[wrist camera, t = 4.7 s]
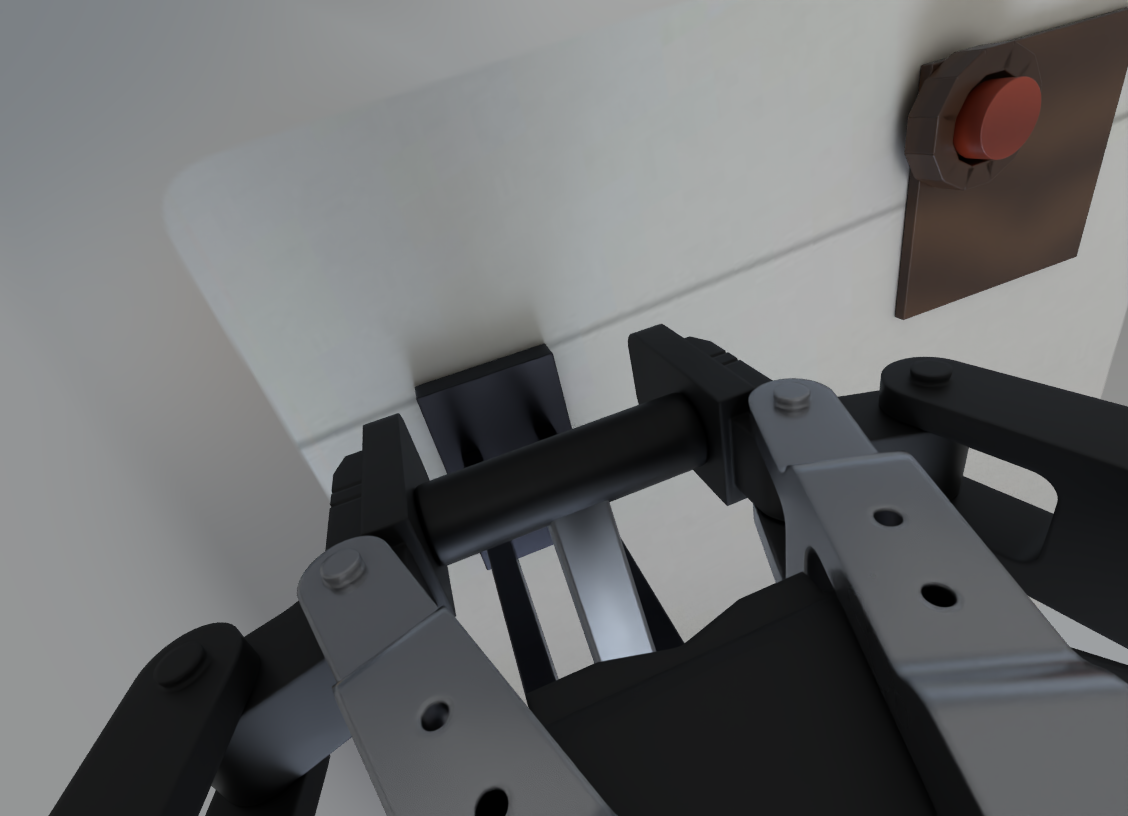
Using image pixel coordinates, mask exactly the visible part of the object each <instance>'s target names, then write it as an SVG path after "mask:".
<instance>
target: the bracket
mask: <svg viewBox="0 0 1128 816" xmlns="http://www.w3.org/2000/svg"><path fill="white" fill-rule="evenodd" d="M415 393H416V400H417V402H418V404H419V407H420V409H421V412H422V414H423V417H424V419H425V421H426V424H427V426H428V429H429V431H430V433H431V436H432V438H433V441H434V443H435V445H436V448H437V450H438V453H439V455H440V458H441V460H442V462H443V465H444V467H445V470H446V472H447V474H450V473H453V472H455V471H458V470H461V469H464V468H466V467H469V466H472V465H475V464H477V463H480V462H483V461H486V460H488V459H491V458H494V457H497V456H499V455H502V454H505V453H508V452H510V451H513V450H516V449H519V448H521V447H524V446H527V445H530V444H532V443H535V442H538V441H541V440H544V439H546V438H549V437H552V436H555V435H557V434H560V433H563V432H566V431H568V430H571V429H572V428H571V424H570V420H569V416H568V412H567V408H566V404H565V400H564V396H563V392H562V388H561V384H560V380H559V376H558V372H557V368H556V364H555V360H554V356H553V353H552V352H551V351H550V349H549V348H548V347H547V346H546V344H542V345H539V346H536V347H533V348H530V349H527V350H524V351H521V352H518V353H515V354H512V355H509V356H506V357H503V358H500V359H497V360H494V361H491V362H488V363H485V364H482V365H479V366H476V367H473V368H470V369H467V370H464V371H461V372H458V373H455V374H452V375H449V376H446V377H443V378H440V379H437V380H434V381H431V382H428V383H425V384H422V385H419V386H416V387H415ZM620 538H621V537H620ZM621 541H622V539H621ZM622 544H623V547H624V551H625V554H626V557H627V560H628V563H629V567H630V570H631V573H632V576H633V579H634V583H635V586H636V589H637V592H638V595H639V599H640V602H641V605H642V608H643V611H644V615H645V618H646V621H647V624H648V627H649V631H650V634H651V637H652V640H653V643H654V647H655V650H656V651H661V650H667V649H672V648H676V647H679V646H681V645H683V644H684V642H683V640H682V638H681V637H680V635H679V633H678V632H677V630H676V628H675V627H674V625H673V623H672V622H671V620H670V619H669V617H668V615H667V614H666V612H665V610H664V609H663V607H662V605H661V604H660V602H659V600H658V599H657V597H656V595H655V594H654V592H653V590H652V589H651V587H650V585H649V584H648V582H647V580H646V579H645V577H644V576H643V574H642V572H641V571H640V569H639V567H638V566H637V564H636V562H635V561H634V559H633V557H632V556H631V554H630V552H629V551H628V549H627V547H626V546H625V544H624V542H623V541H622ZM551 545H553V541H552V538H551V535H550V532H549V529H548V526H547V527H544V528H542V529H539V530H537V531H534V532H531V533H529V534H526V535H524V536H521V537H519V538H516V539H514V540H511V541H508V542H506V543H503V544H501V545H498V546H496V547H493V548H490V549H488V550H485V551H483V552H480V554H481V556H482V559H483V561H484V564H485V566H486V569H487V570H490V569H492V573H493V577H494V580H495V584H496V588H497V592H498V595H499V599H500V603H501V606H502V610H503V614H504V618H505V621H506V625H507V629H508V633H509V636H510V640H511V644H512V648H513V651H514V655H515V659H516V663H517V666H518V670H519V674H520V678H521V681H522V685H523V689H524V692H525V694H527V693H529V692H531V691H534V690H536V689H538V688H540V687H543V686H545V685H547V684H549V683H552V682H554V681H556V680H558V676H557V673H556V670H555V667H554V664H553V661H552V658H551V655H550V652H549V649H548V646H547V643H546V640H545V637H544V634H543V631H542V628H541V625H540V622H539V619H538V616H537V613H536V610H535V607H534V604H533V601H532V598H531V595H530V592H529V589H528V586H527V583H526V580H525V578H524V575H523V572H522V569H521V566H520V563H519V560H518V558H520V557H523V556H525V555H528V554H531V553H533V552H536V551H538V550H541V549H543V548H546V547H548V546H551ZM527 704H528V703H527Z"/></svg>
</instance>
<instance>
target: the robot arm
mask: <svg viewBox="0 0 1128 816" xmlns="http://www.w3.org/2000/svg"><path fill="white" fill-rule="evenodd" d="M628 348H629V354H630V360H631V365H632V371H633V377H634V383H635V389H636V395H637V399H638V403H639V405H640V404H643V403H645V402H648V401H651V400H654V399H656V398H659V397H662V396H665V395H667V394H670V393H681V394H683V395H684V396H686V397H687V398H688V399H689V400H690V402H691V403H692V404H693V406H694V407H695V409H696V410H697V412H698V414H699V416H700V418H701V420H702V423H703V425H704V428H705V431H706V434H707V438H708V443H709V457H708V460H707V462H706V463H705V464H704V465H703V466H701V467H698V468H695V469H693V470H694V471H695V472H696V473H697V475H698V476H699V477H700V478H701V479H702V480H703V481H704V482H705V483H706V484H707V485H708V486H709V487H710V488H711V489H712V490H713V492H714V493H715V494H716V495H717V496H718V497H719V498H720V499H721V500H722V501H723V502H724V503H725V504H726V505H727V506H729V505H731V504H734V503H736V502H738V501H741V500H743V499H746V498H748V499H749V500H750V501H751V502H752V503H753V515H754V522H755V525H756V528H757V531H758V534H759V537H760V539H761V542H762V545H763V548H764V551H765V554H766V556H767V559H768V562H769V565H770V568H771V571H772V573H773V576H774V579H775V582H776V583H775V584H772V585H770V586H768V587H766V588H763V589H761V590H759V591H757V592H754V593H752V594H750V595H748V596H745V597H743V598H741V599H739V600H738V601H736V602H735V603H734V604H733V605H731V606H730V607H729V608H728V609H727V610H725V611H724V612H723V613H722V614H720V615H719V616H718V617H717V618H715V619H714V620H713V621H712V622H711V623H709V624H708V625H707V626H706V627H704V628H703V629H702V630H701V631H699V632H698V633H697V634H696V635H695V636H693V637H692V638H691V639H690V640H688V641H687V642H686V643H684V644H683V645H681V646H679V647H676V648H672V649H667V650H661V651H656V652H650V653H645V654H639V655H634V656H628V657H623V658H617V659H611V660H606V661H600V662H597V663H595V664H592V665H590V666H588V667H586V668H583V669H581V670H579V671H577V672H574V673H572V674H570V675H568V676H565V677H563V678H561V679H558V680H556V681H554V682H552V683H549V684H547V685H545V686H543V687H540V688H538V689H536V690H534V691H531V692H529V693H527V694H525V696H526V700H527V703H528V707H529V708H528V707H527V705H526V704H525V703H524V702H523V700H522V699H521V698H520V697H519V696H518V694H517V693H516V692H515V691H514V689H513V688H512V687H511V686H510V684H509V683H508V682H507V681H506V680H505V678H504V677H503V676H502V675H501V673H500V672H499V671H498V670H497V668H496V667H495V666H494V665H493V664H492V662H491V661H490V660H489V659H488V657H487V656H486V655H485V654H484V652H483V651H482V650H481V649H480V647H479V646H478V645H477V644H476V643H475V641H474V640H473V639H472V638H471V636H470V635H469V634H468V633H467V631H466V630H465V629H464V628H463V627H462V625H461V624H460V623H459V622H458V620H457V619H456V618H455V617H456V613H455V607H454V601H453V596H452V590H451V584H450V579H449V573H448V567H447V566H443V565H440V564H439V563H438V562H437V560H436V559H435V557H434V556H433V554H432V552H431V550H430V548H429V545H428V543H427V540H426V538H425V535H424V532H423V529H422V526H421V523H420V520H419V517H418V513H417V509H416V504H415V488H416V487H417V486H418V485H420V484H422V483H425V482H428V481H430V480H429V477H428V475H427V472H426V470H425V468H424V466H423V463H422V461H421V459H420V456H419V454H418V452H417V450H416V447H415V445H414V443H413V441H412V438H411V436H410V434H409V432H408V429H407V427H406V425H405V423H404V420H403V418H402V417H401V415H400V414H399V413H397V414H394V415H391V416H388V417H386V418H383V419H380V420H377V421H374V422H371V423H368V424H365V425H363V443H362V451H359V452H357V453H354V454H351V455H348V456H345V458H344V459H343V461H342V462H341V464H340V465H339V467H338V468H337V470H336V471H335V473H334V474H333V482H332V493H333V494H331V502H330V505H331V508H330V512H329V521H328V531H327V541H326V550H325V552H324V553H322V554H321V555H320V556H319V557H317V558H316V559H315V560H314V561H313V562H312V563H311V564H310V565H309V567H308V568H307V569H306V570H305V572H304V574H303V575H302V577H301V579H300V581H299V583H298V587H297V597H298V600H299V601H298V602H296V603H295V604H294V605H293V606H291V607H290V608H289V609H287V610H286V611H284V612H283V613H281V614H280V615H278V616H277V617H275V618H274V619H272V620H270V621H269V622H267V623H266V624H264V625H262V626H261V627H259V628H258V629H256V630H254V631H253V632H251V633H250V634H248V635H247V636H245V637H244V636H243V635H242V634H241V633H240V631H239V630H238V629H237V628H236V627H235V626H233V625H232V624H229V623H212V624H208V625H204V626H201V627H199V628H197V629H194V630H192V631H190V632H188V633H186V634H184V635H182V636H181V637H179V638H177V639H176V640H175V641H173V642H172V643H170V644H169V645H168V646H167V647H165V648H164V649H162V650H161V651H160V652H159V653H158V654H157V655H156V656H155V657H154V658H153V659H152V660H151V661H150V662H149V663H148V664H147V665H146V666H145V667H144V668H143V669H142V671H141V672H140V674H139V675H138V676H137V678H136V679H135V680H134V682H133V684H132V685H131V687H130V688H129V690H128V692H127V693H126V695H125V696H124V698H123V699H122V701H121V703H120V704H119V706H118V707H117V709H116V710H115V712H114V714H113V715H112V717H111V718H110V720H109V721H108V723H107V725H106V726H105V728H104V729H103V731H102V732H101V734H100V736H99V737H98V739H97V741H96V742H95V743H94V745H93V747H92V748H91V750H90V751H89V753H88V754H87V756H86V758H85V759H84V761H83V762H82V764H81V766H80V767H79V769H78V770H77V772H76V774H75V775H74V777H73V778H72V780H71V781H70V783H69V784H68V786H67V788H66V789H65V791H64V792H63V794H62V795H61V797H60V799H59V800H58V802H57V804H56V805H55V807H54V808H53V810H52V811H51V813H50V815H49V816H198V815H199V813H200V811H201V808H202V806H203V804H204V801H205V799H206V797H207V794H208V792H209V789H210V787H211V786H212V787H213V788H215V789H216V791H215V794H214V796H213V799H212V801H211V803H210V806H209V808H208V810H207V813H206V815H205V816H315V813H316V809H317V805H318V802H319V797H320V794H321V790H322V787H323V783H324V779H325V775H326V772H327V768H328V764H329V759H330V753H332V752H333V751H334V750H336V749H337V748H338V747H340V746H341V745H342V744H343V743H345V742H346V741H347V740H349V739H350V738H351V737H352V738H353V740H354V743H355V745H356V747H357V749H358V752H359V754H360V756H361V758H362V761H363V763H364V765H365V767H366V770H367V772H368V774H369V776H370V779H371V781H372V783H373V785H374V788H375V790H376V792H377V794H378V797H379V799H380V801H381V803H382V806H383V808H384V810H385V812H386V815H387V816H1128V665H1126V664H1122V663H1119V662H1116V661H1113V660H1110V659H1106V658H1103V657H1100V656H1097V655H1094V654H1090V653H1087V652H1084V651H1081V650H1078V649H1075V648H1071V647H1070V646H1069V645H1068V644H1067V643H1066V642H1065V641H1064V639H1063V638H1062V637H1061V636H1060V635H1059V633H1058V632H1057V631H1056V630H1055V629H1054V627H1053V626H1052V625H1051V624H1050V622H1049V621H1048V620H1047V619H1046V618H1045V616H1044V615H1043V614H1042V613H1041V611H1040V610H1039V609H1038V608H1037V607H1036V605H1035V604H1034V603H1033V602H1032V600H1031V599H1030V598H1029V597H1028V596H1030V597H1031V598H1033V599H1035V600H1037V601H1039V602H1041V603H1043V604H1045V605H1046V606H1049V607H1050V608H1052V609H1054V610H1056V611H1058V612H1060V613H1061V614H1063V615H1065V616H1067V617H1069V618H1071V619H1073V620H1075V621H1076V622H1078V623H1080V624H1082V625H1084V626H1086V627H1088V628H1090V629H1092V630H1093V631H1095V632H1097V633H1099V634H1101V635H1103V636H1105V637H1107V638H1108V639H1110V640H1113V641H1114V642H1116V643H1118V644H1120V645H1122V646H1124V647H1125V648H1127V649H1128V407H1127V406H1123V405H1119V404H1116V403H1112V402H1108V401H1104V400H1101V399H1097V398H1093V397H1090V396H1086V395H1082V394H1078V393H1075V392H1071V391H1067V390H1063V389H1060V388H1056V387H1052V386H1048V385H1045V384H1041V383H1037V382H1033V381H1030V380H1026V379H1022V378H1018V377H1015V376H1011V375H1007V374H1003V373H1000V372H996V371H992V370H988V369H985V368H981V367H977V366H973V365H970V364H966V363H962V362H958V361H954V360H950V359H945V358H937V357H913V358H907V359H902V360H899V361H896V362H893V363H891V364H889V365H888V366H886V367H885V368H884V369H883V371H882V373H881V381H880V390H879V391H873V392H866V393H860V394H853V395H847V396H840V397H837V396H836V394H835V393H834V392H833V391H832V390H831V389H830V388H829V387H827V386H825V385H823V384H821V383H818V382H816V381H812V380H807V379H796V378H790V379H779V380H774V381H773V380H771V379H769V378H768V377H766V376H765V375H763V374H761V373H760V372H758V371H757V370H755V369H754V368H752V367H750V366H749V365H747V364H746V363H744V362H743V361H741V360H737V358H736V357H735V356H733V355H731V354H730V353H726V352H725V350H724V349H722V348H720V347H719V346H717V345H716V344H714V343H712V342H711V341H707V340H703V339H698V338H694V337H687V338H683V337H681V336H680V335H678V334H677V333H675V332H674V331H672V330H671V329H669V328H668V327H666V326H665V325H663V324H659V325H656V326H653V327H650V328H647V329H644V330H641V331H638V332H635V333H632V334H630V335H629V337H628ZM969 447H970V448H972V449H975V450H978V451H980V452H983V453H986V454H988V455H991V456H994V457H996V458H999V459H1002V460H1004V461H1007V462H1010V463H1012V464H1015V465H1017V466H1020V467H1023V468H1025V469H1028V470H1031V471H1033V472H1035V473H1037V474H1039V475H1041V476H1042V477H1044V478H1045V479H1046V480H1048V481H1049V482H1050V483H1051V485H1052V486H1053V487H1054V489H1055V491H1056V493H1057V496H1058V502H1057V505H1056V508H1055V511H1054V514H1053V513H1050V512H1048V511H1045V510H1043V509H1041V508H1038V507H1036V506H1033V505H1031V504H1029V503H1026V502H1024V501H1022V500H1019V499H1017V498H1014V497H1012V496H1010V495H1007V494H1005V493H1002V492H1000V491H998V490H995V489H993V488H990V487H988V486H986V485H983V484H981V483H978V482H976V481H974V480H971V479H969V478H967V477H964V476H963V472H964V468H965V463H966V458H967V454H968V449H969ZM1027 595H1028V596H1027Z"/></svg>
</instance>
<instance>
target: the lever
mask: <svg viewBox="0 0 1128 816" xmlns="http://www.w3.org/2000/svg"><path fill="white" fill-rule="evenodd" d="M708 457H709V443H708V438H707V434H706V431H705V428H704V425H703V423H702V420H701V418H700V416H699V414H698V412H697V410H696V409H695V407H694V406H693V404H692V403H691V402H690V400H689V399H688V398H687V397H686V396H684V395H683V394H681V393H670V394H667V395H665V396H662V397H659V398H656V399H654V400H651V401H648V402H645V403H643V404H640V405H637V406H634V407H632V408H629V409H626V410H623V411H621V412H618V413H615V414H612V415H610V416H607V417H604V418H601V419H599V420H596V421H593V422H590V423H588V424H585V425H582V426H579V427H577V428H574V429H571V430H568V431H566V432H563V433H560V434H557V435H555V436H552V437H549V438H546V439H544V440H541V441H538V442H535V443H532V444H530V445H527V446H524V447H521V448H519V449H516V450H513V451H510V452H508V453H505V454H502V455H499V456H497V457H494V458H491V459H488V460H486V461H483V462H480V463H477V464H475V465H472V466H469V467H466V468H464V469H461V470H458V471H455V472H453V473H450V474H447V475H444V476H442V477H439V478H436V479H433V480H431V481H428V482H425V483H422V484H420V485H418V486H417V487H416V488H415V504H416V509H417V513H418V517H419V520H420V523H421V526H422V529H423V532H424V535H425V538H426V540H427V543H428V545H429V548H430V550H431V552H432V554H433V556H434V557H435V559H436V560H437V562H438V563H439V564H440V565H443V566H447V565H449V564H452V563H455V562H457V561H460V560H462V559H465V558H467V557H470V556H473V555H475V554H478V553H480V552H483V551H485V550H488V549H490V548H493V547H496V546H498V545H501V544H503V543H506V542H508V541H511V540H514V539H516V538H519V537H521V536H524V535H526V534H529V533H531V532H534V531H537V530H539V529H542V528H544V527H547V526H548V529H549V532H550V535H551V538H552V541H553V544H554V546H555V549H556V552H557V555H558V558H559V561H560V564H561V567H562V570H563V573H564V576H565V579H566V582H567V584H568V587H569V590H570V593H571V596H572V599H573V602H574V605H575V608H576V611H577V614H578V617H579V620H580V623H581V625H582V628H583V631H584V634H585V637H586V640H587V643H588V646H589V649H590V652H591V655H592V658H593V661H594V664H595V663H597V662H600V661H606V660H611V659H617V658H623V657H628V656H634V655H639V654H645V653H650V652H656V650H655V647H654V643H653V640H652V637H651V634H650V631H649V627H648V624H647V621H646V618H645V615H644V611H643V608H642V605H641V602H640V599H639V595H638V592H637V589H636V586H635V583H634V579H633V576H632V573H631V570H630V567H629V563H628V560H627V557H626V554H625V551H624V547H623V544H622V541H621V538H620V535H619V531H618V528H617V525H616V522H615V519H614V515H613V512H612V509H611V506H610V503H609V502H611V501H613V500H616V499H619V498H621V497H624V496H626V495H629V494H631V493H634V492H637V491H639V490H642V489H644V488H647V487H649V486H652V485H654V484H657V483H660V482H662V481H665V480H667V479H670V478H672V477H675V476H678V475H680V474H683V473H685V472H688V471H690V470H693V469H695V468H698V467H701V466H703V465H704V464H705V463H706V462H707V460H708Z"/></svg>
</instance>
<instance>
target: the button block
mask: <svg viewBox="0 0 1128 816" xmlns="http://www.w3.org/2000/svg"><path fill="white" fill-rule="evenodd" d="M1127 68H1128V8H1124V9H1120V10H1117V11H1113V12H1110V13H1106V14H1103V15H1099V16H1095V17H1092V18H1088V19H1085V20H1081V21H1078V22H1074V23H1070V24H1067V25H1063V26H1060V27H1056V28H1053V29H1049V30H1046V31H1042V32H1038V33H1035V34H1031V35H1028V36H1024V37H1021V38H1017V39H1013V40H1010V41H1006V42H1000V43H993V44H985V45H979V46H975V47H972V48H968V49H965V50H961V51H958V52H954V53H953V54H951V55H950V56H949V57H948V58H946V59H942V60H939V61H935V62H931V63H928V64H924V65H922V66H921V72H920V82H919V92H918V96H917V98H916V100H915V102H914V105H913V107H912V109H911V111H910V113H909V115H908V117H909V118H908V122H907V132H906V142H905V156H906V159H907V161H908V163H909V166H910V168H911V169H910V179H909V188H908V198H907V207H906V217H905V227H904V236H903V246H902V256H901V265H900V275H899V285H898V294H897V304H896V313H895V317H897V318H899V319H902V320H905V319H908V318H910V317H913V316H916V315H918V314H921V313H924V312H927V311H929V310H932V309H935V308H938V307H940V306H943V305H946V304H948V303H951V302H954V301H957V300H959V299H962V298H965V297H967V296H970V295H973V294H976V293H978V292H981V291H984V290H987V289H989V288H992V287H995V286H997V285H1000V284H1003V283H1006V282H1008V281H1011V280H1014V279H1017V278H1019V277H1022V276H1025V275H1027V274H1030V273H1033V272H1036V271H1038V270H1041V269H1044V268H1047V267H1049V266H1052V265H1055V264H1057V263H1060V262H1063V261H1066V260H1068V259H1071V258H1074V257H1076V256H1077V253H1078V249H1079V245H1080V242H1081V238H1082V234H1083V230H1084V227H1085V223H1086V219H1087V216H1088V212H1089V208H1090V205H1091V201H1092V197H1093V193H1094V190H1095V186H1096V182H1097V179H1098V175H1099V171H1100V168H1101V164H1102V160H1103V156H1104V153H1105V149H1106V145H1107V142H1108V138H1109V134H1110V131H1111V127H1112V123H1113V119H1114V116H1115V112H1116V108H1117V105H1118V101H1119V97H1120V94H1121V90H1122V86H1123V83H1124V79H1125V75H1126V71H1127ZM1021 76H1027V77H1030V78H1032V79H1034V80H1035V81H1036V82H1037V84H1038V86H1039V88H1040V91H1041V108H1040V113H1039V117H1038V120H1037V122H1036V125H1035V127H1034V129H1033V131H1032V133H1031V134H1030V136H1029V137H1028V139H1027V140H1026V142H1025V143H1024V144H1023V145H1022V146H1021V147H1020V148H1019V149H1018V150H1017V151H1016V152H1015V153H1013V154H1012V155H1010V156H1008V157H1006V158H1004V159H1000V160H990V159H969V158H964V157H962V156H961V155H959V154H958V152H957V151H956V149H955V147H954V144H953V136H954V128H955V121H956V117H957V115H958V113H959V111H960V109H961V107H962V105H963V103H964V101H965V99H966V97H967V95H968V94H969V93H970V92H971V91H972V90H973V89H974V88H975V87H976V86H977V85H979V84H980V83H982V82H984V81H986V80H989V79H996V78H1008V77H1021Z"/></svg>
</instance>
